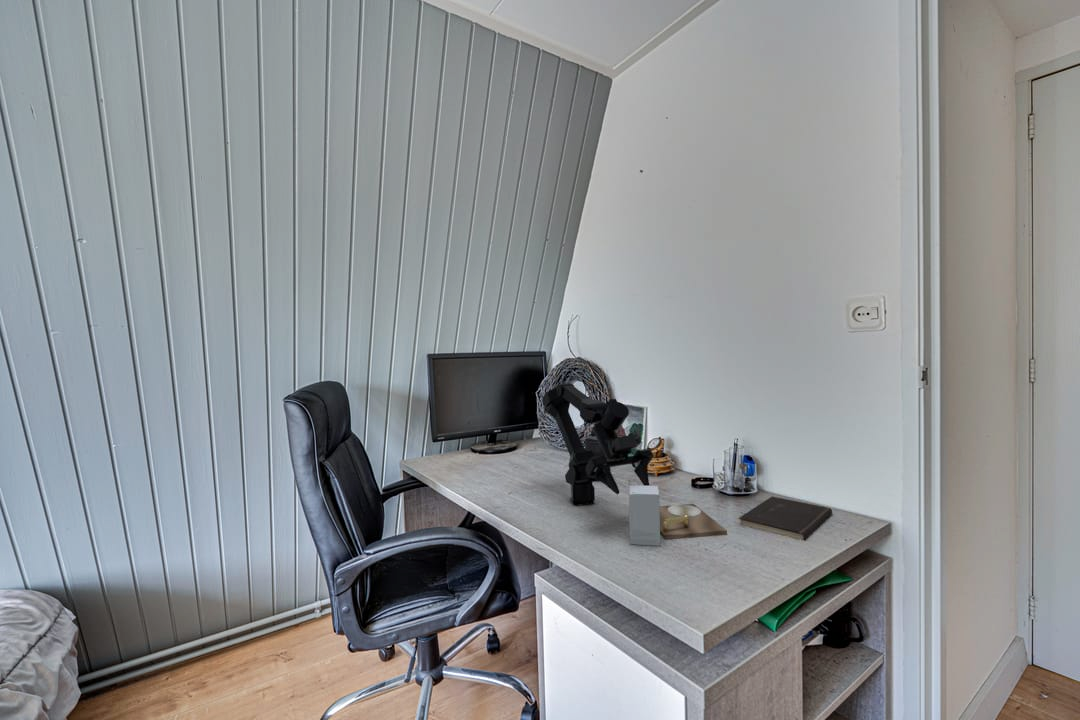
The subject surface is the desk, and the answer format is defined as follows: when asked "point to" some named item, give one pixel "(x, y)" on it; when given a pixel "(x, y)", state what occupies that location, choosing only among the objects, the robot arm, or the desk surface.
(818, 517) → the hardcover book
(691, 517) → the walnut board
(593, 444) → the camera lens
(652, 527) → the supplement box
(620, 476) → the desk surface
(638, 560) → the desk surface
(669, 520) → the bent brass wire
